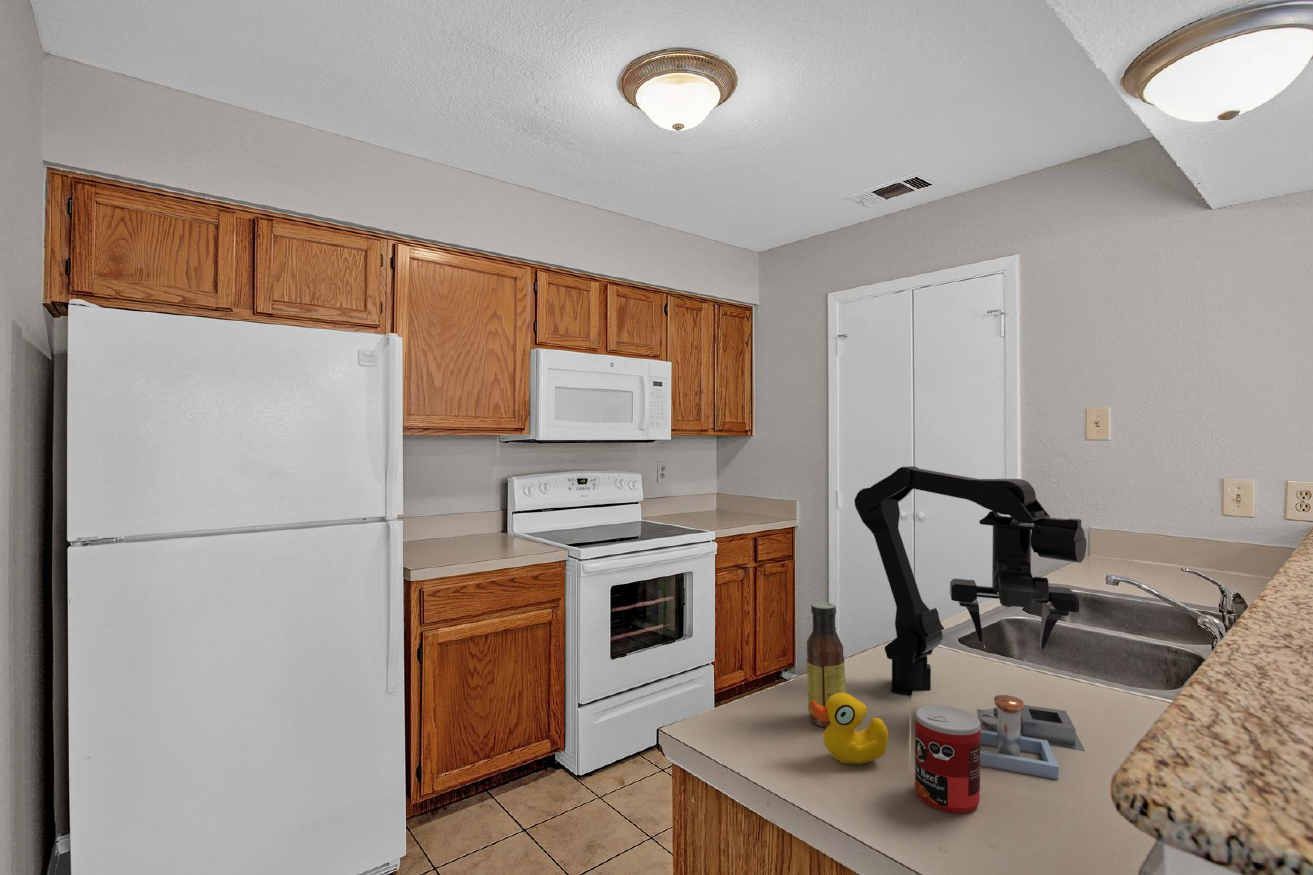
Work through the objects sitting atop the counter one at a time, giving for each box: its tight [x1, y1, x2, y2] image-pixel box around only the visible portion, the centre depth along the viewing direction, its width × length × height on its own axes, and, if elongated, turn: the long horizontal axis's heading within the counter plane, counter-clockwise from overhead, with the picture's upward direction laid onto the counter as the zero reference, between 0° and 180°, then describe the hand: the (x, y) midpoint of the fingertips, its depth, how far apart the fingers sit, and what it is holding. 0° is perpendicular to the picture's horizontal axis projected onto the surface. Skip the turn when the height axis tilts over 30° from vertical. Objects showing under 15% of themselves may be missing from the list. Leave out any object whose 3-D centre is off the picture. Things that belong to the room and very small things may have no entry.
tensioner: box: [976, 704, 1086, 752], centre depth 104 cm, size 14×10×3 cm
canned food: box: [914, 704, 981, 814], centre depth 86 cm, size 8×8×11 cm
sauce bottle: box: [806, 601, 847, 729], centre depth 108 cm, size 6×6×20 cm
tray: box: [980, 729, 1060, 780], centre depth 95 cm, size 11×8×2 cm
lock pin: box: [993, 694, 1025, 757], centre depth 95 cm, size 4×4×9 cm
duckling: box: [810, 692, 889, 765], centre depth 95 cm, size 11×5×10 cm, turn 85°
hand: (1010, 644), depth 109 cm, fingers open, 9 cm apart
